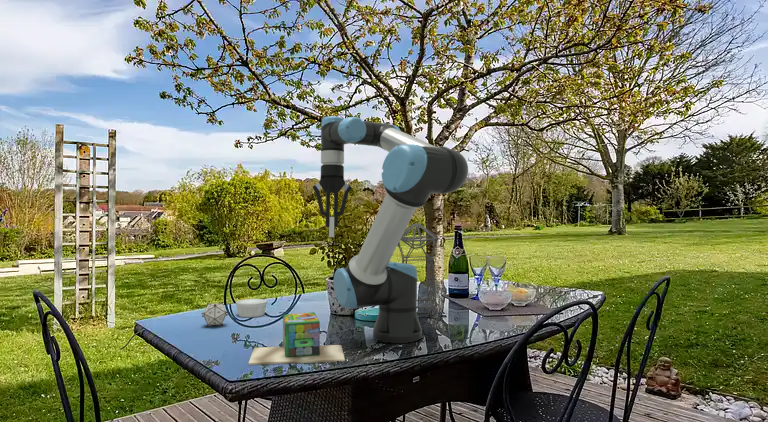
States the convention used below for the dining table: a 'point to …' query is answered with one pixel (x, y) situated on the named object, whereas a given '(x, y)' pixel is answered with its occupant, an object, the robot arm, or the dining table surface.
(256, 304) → the ramekin
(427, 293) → the geometric lantern
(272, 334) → the dining table surface
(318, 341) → the chalk box
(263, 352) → the beige mat
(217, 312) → the game die
